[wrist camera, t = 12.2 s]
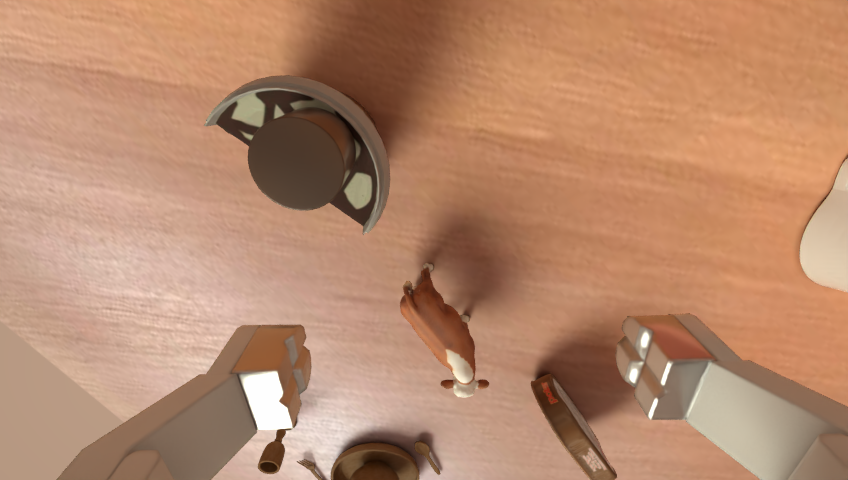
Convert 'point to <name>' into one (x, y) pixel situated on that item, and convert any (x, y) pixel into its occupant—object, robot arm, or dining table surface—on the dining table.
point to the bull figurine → (442, 333)
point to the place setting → (356, 461)
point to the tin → (572, 428)
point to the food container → (288, 93)
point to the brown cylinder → (302, 158)
